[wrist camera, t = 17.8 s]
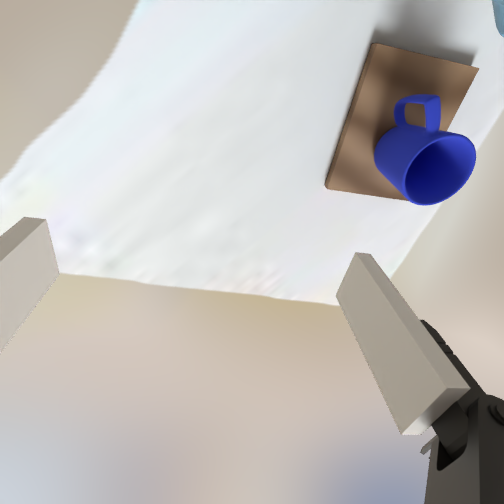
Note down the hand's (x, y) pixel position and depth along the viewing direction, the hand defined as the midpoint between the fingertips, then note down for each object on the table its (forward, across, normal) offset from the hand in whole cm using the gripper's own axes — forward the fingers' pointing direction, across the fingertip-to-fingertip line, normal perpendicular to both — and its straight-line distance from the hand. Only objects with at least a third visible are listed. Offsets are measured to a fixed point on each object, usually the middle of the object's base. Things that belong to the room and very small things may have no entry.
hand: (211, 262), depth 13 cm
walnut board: (+31, +24, +3) cm, 39 cm away
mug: (+29, +24, +3) cm, 38 cm away
